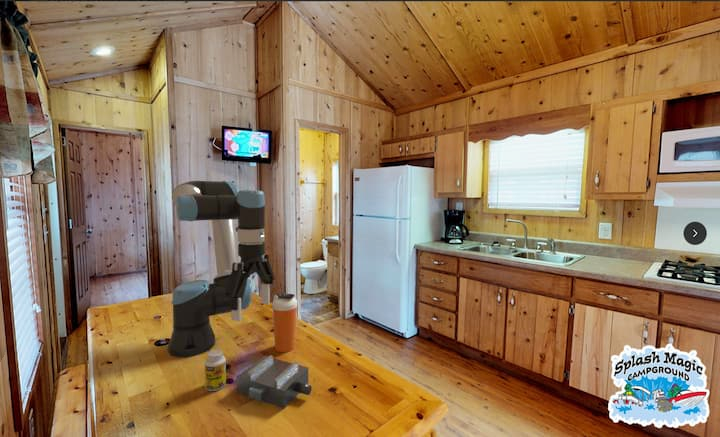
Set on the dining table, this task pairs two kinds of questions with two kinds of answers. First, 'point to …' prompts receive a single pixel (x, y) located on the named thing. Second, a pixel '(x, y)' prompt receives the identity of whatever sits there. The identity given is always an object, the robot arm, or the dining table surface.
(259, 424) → the dining table surface
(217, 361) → the supplement bottle
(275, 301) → the shaker bottle
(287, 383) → the motor block
